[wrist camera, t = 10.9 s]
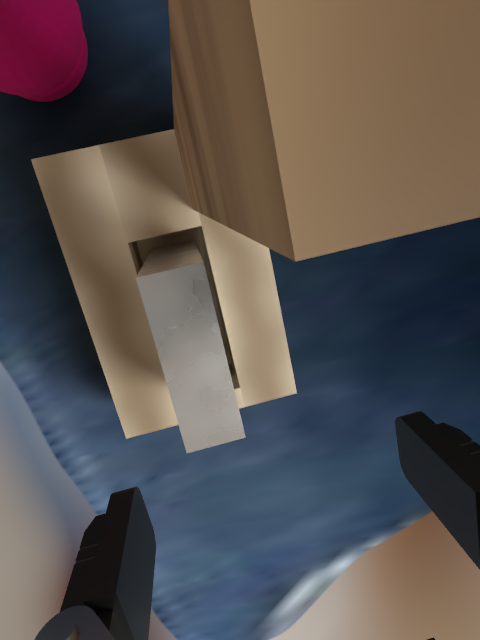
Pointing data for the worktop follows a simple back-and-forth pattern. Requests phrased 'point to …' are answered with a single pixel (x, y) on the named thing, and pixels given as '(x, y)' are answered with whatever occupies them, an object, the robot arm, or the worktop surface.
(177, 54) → the wooden l-shaped stand
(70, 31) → the pepper mill
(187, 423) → the grey stone slab
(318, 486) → the worktop surface
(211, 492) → the worktop surface
